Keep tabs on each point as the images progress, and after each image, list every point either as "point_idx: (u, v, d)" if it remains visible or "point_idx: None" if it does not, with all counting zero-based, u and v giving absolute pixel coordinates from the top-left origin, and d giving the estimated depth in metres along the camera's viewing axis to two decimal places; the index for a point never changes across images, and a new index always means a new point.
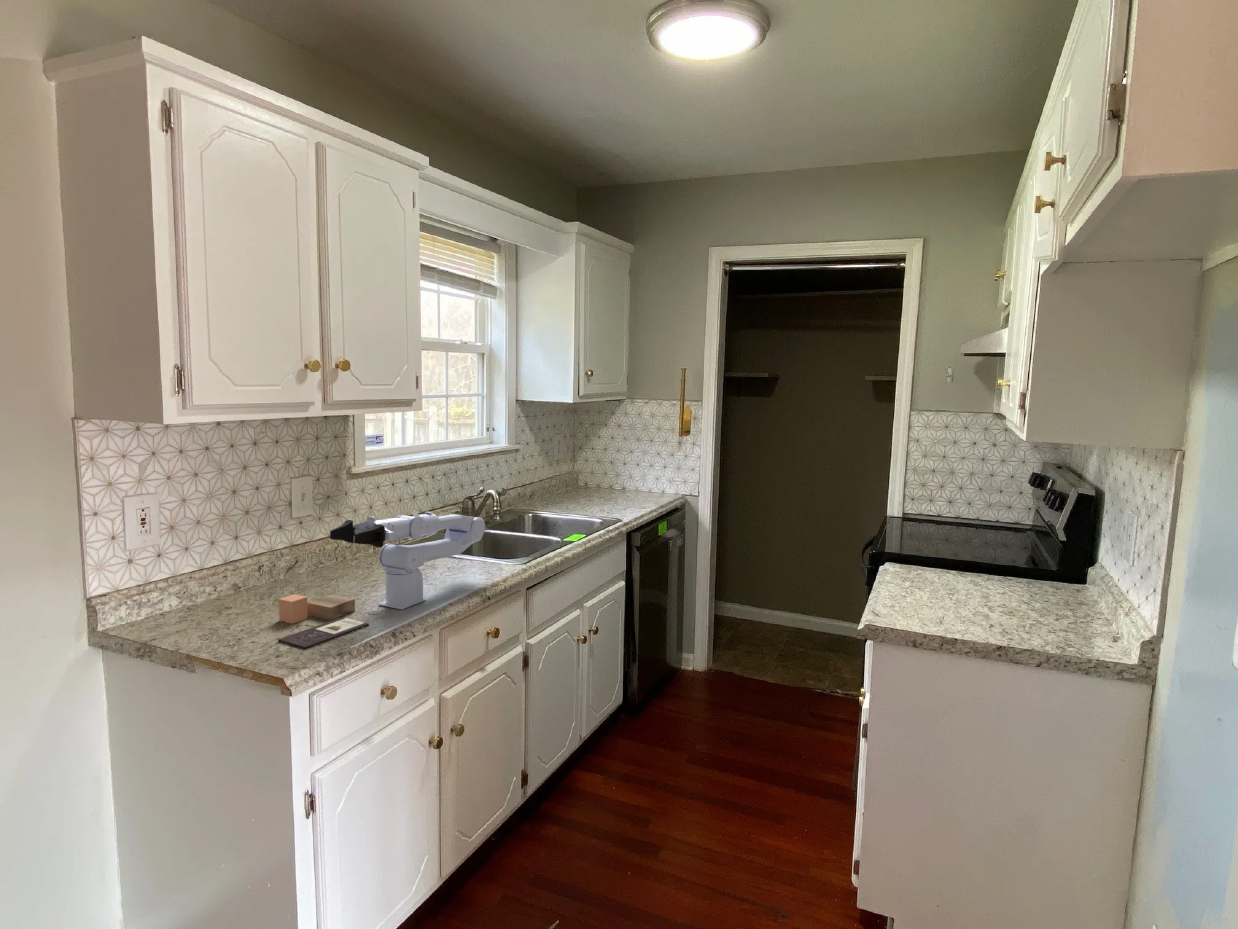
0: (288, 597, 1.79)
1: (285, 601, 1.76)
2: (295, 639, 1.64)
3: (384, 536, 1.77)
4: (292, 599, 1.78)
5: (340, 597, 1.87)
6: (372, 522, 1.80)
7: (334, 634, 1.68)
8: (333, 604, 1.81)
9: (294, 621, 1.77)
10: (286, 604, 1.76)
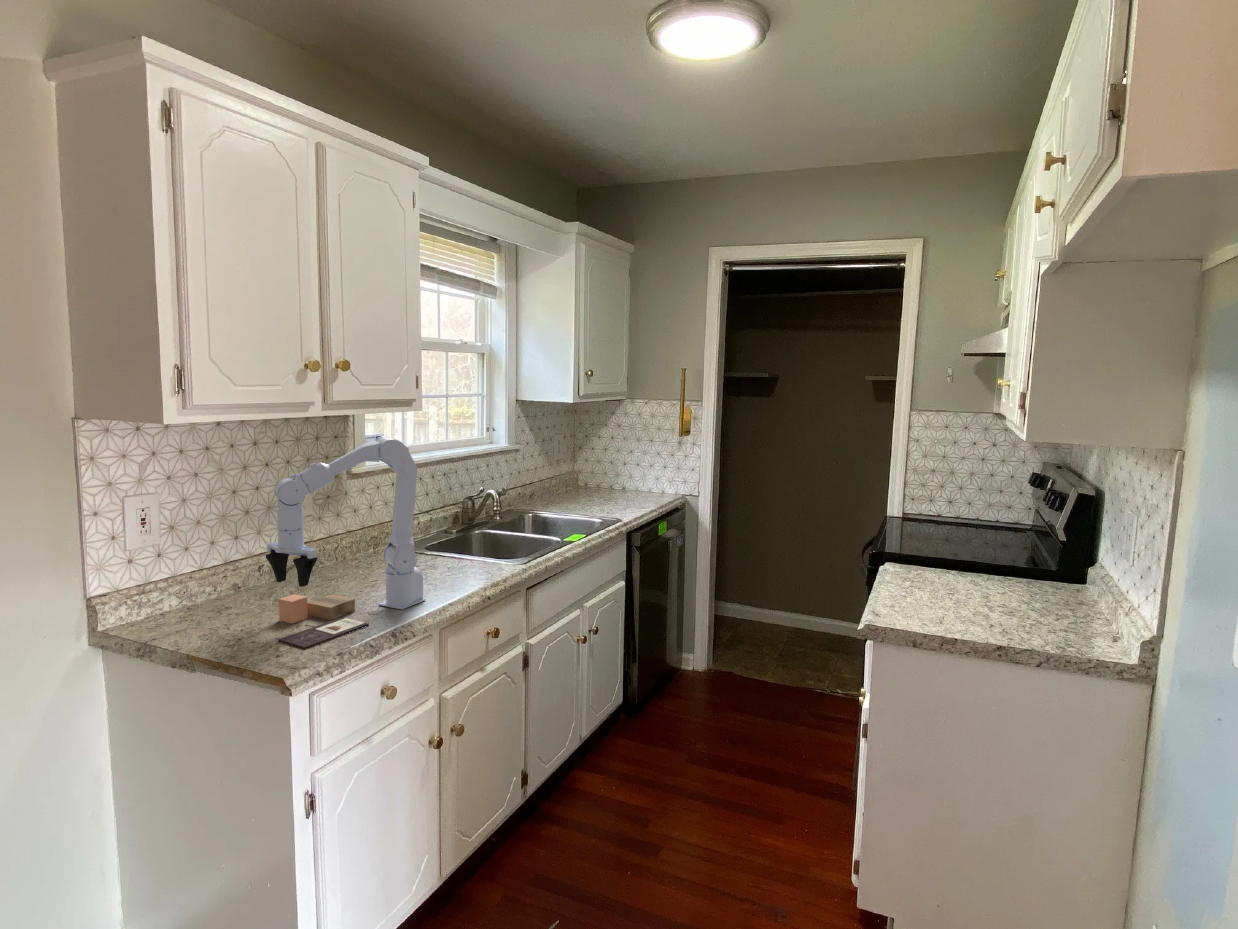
0: (288, 597, 1.79)
1: (285, 601, 1.76)
2: (295, 639, 1.64)
3: (310, 558, 1.75)
4: (292, 598, 1.78)
5: (340, 597, 1.87)
6: None
7: (334, 634, 1.68)
8: (333, 604, 1.81)
9: (294, 621, 1.77)
10: (286, 604, 1.76)
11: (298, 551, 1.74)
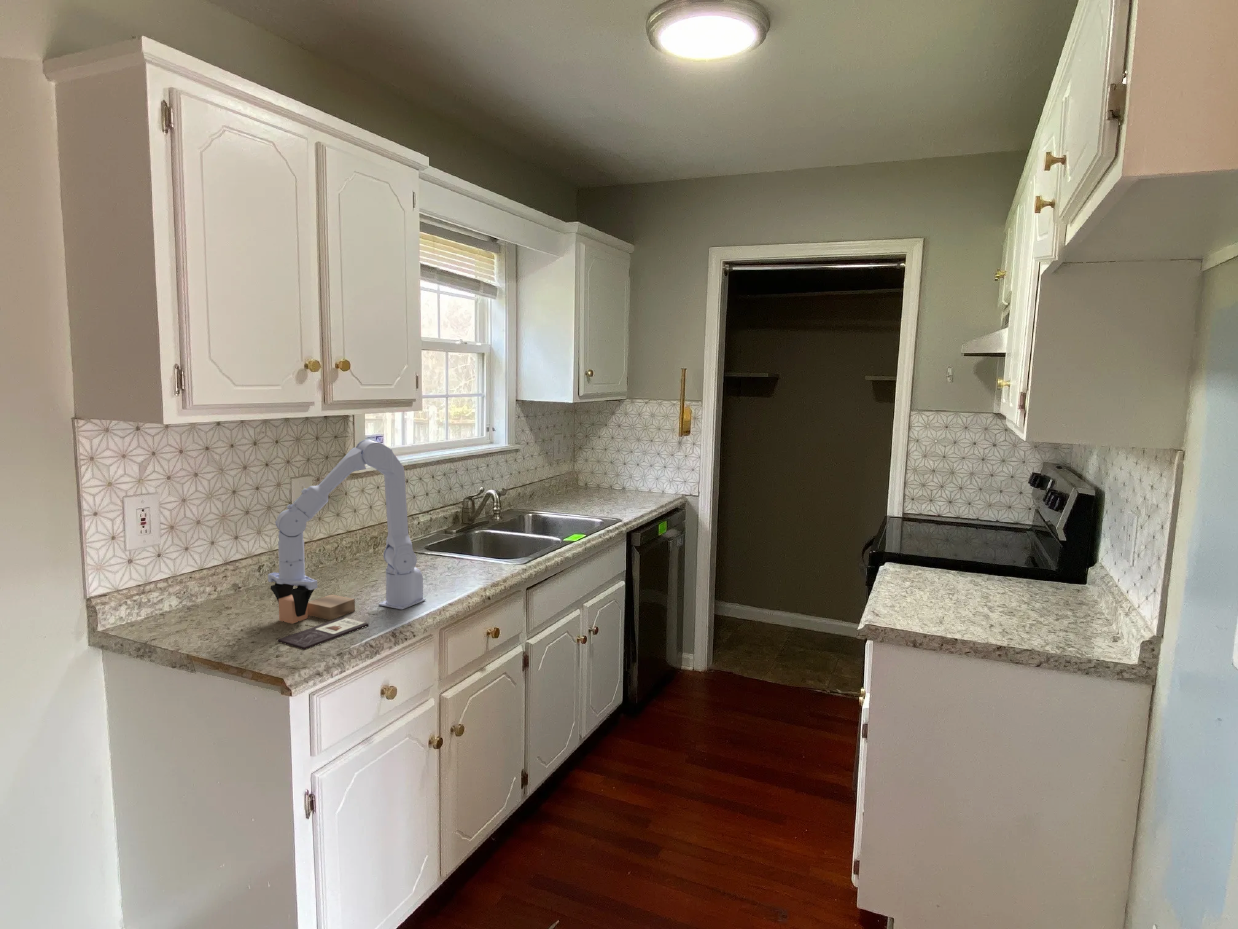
0: (288, 597, 1.79)
1: (285, 601, 1.76)
2: (294, 639, 1.64)
3: (307, 588, 1.76)
4: (292, 598, 1.78)
5: (340, 597, 1.87)
6: (285, 583, 1.75)
7: (334, 634, 1.68)
8: (333, 604, 1.81)
9: (294, 621, 1.77)
10: (286, 603, 1.76)
11: (299, 582, 1.75)
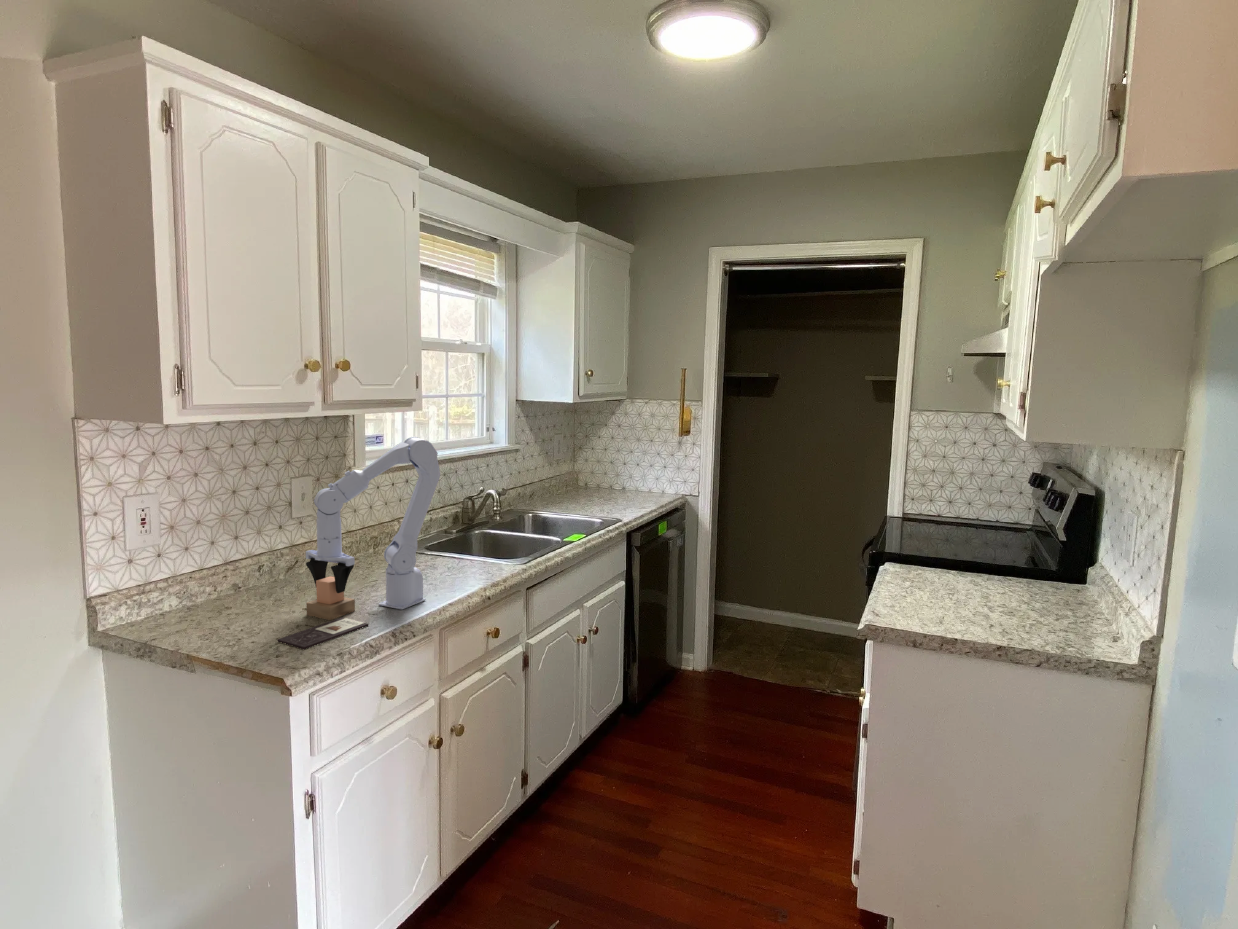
0: (325, 579, 1.84)
1: (322, 583, 1.82)
2: (294, 639, 1.64)
3: (347, 565, 1.81)
4: (329, 580, 1.83)
5: None
6: (323, 560, 1.80)
7: (333, 634, 1.68)
8: (333, 604, 1.81)
9: (331, 602, 1.82)
10: (323, 585, 1.82)
11: (337, 559, 1.80)
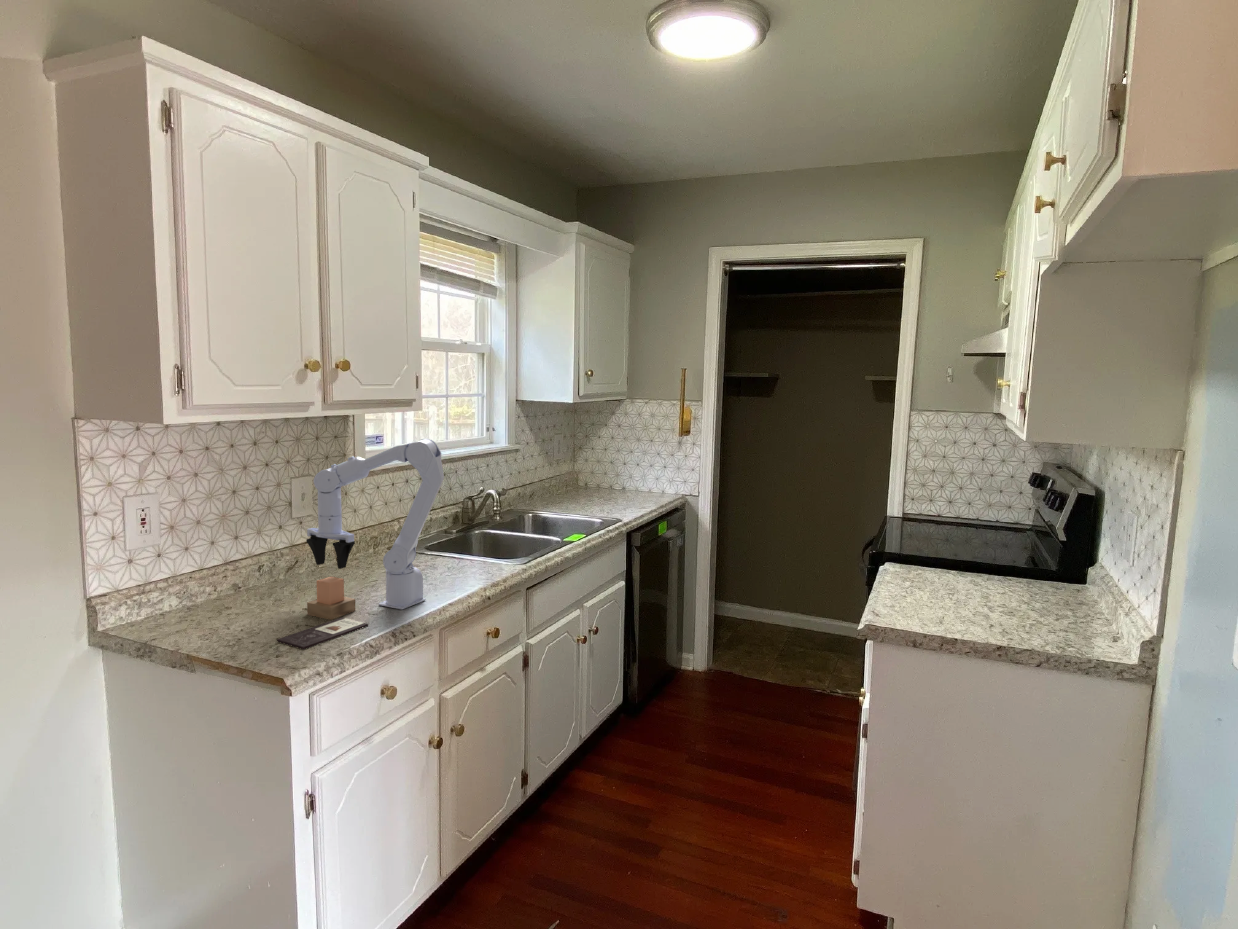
0: (325, 579, 1.84)
1: (323, 583, 1.81)
2: (294, 639, 1.64)
3: None
4: (330, 580, 1.83)
5: None
6: (324, 536, 1.88)
7: (333, 634, 1.68)
8: (333, 604, 1.82)
9: (331, 602, 1.82)
10: (323, 585, 1.81)
11: (337, 535, 1.87)
